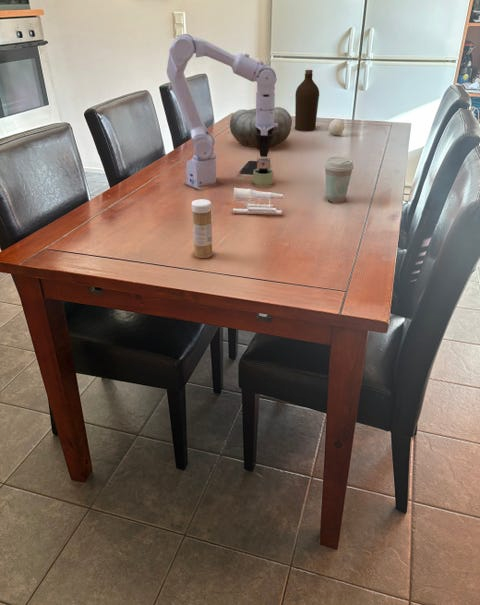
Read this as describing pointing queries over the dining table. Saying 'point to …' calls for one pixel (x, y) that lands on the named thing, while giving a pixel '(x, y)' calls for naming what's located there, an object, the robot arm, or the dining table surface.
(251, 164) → the phone
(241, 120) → the gourd
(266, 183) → the cup
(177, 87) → the robot arm
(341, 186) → the coffee cup
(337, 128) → the baseball
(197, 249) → the sprinkles bottle
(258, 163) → the rectangular block
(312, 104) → the olive oil
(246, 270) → the dining table surface
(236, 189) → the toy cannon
